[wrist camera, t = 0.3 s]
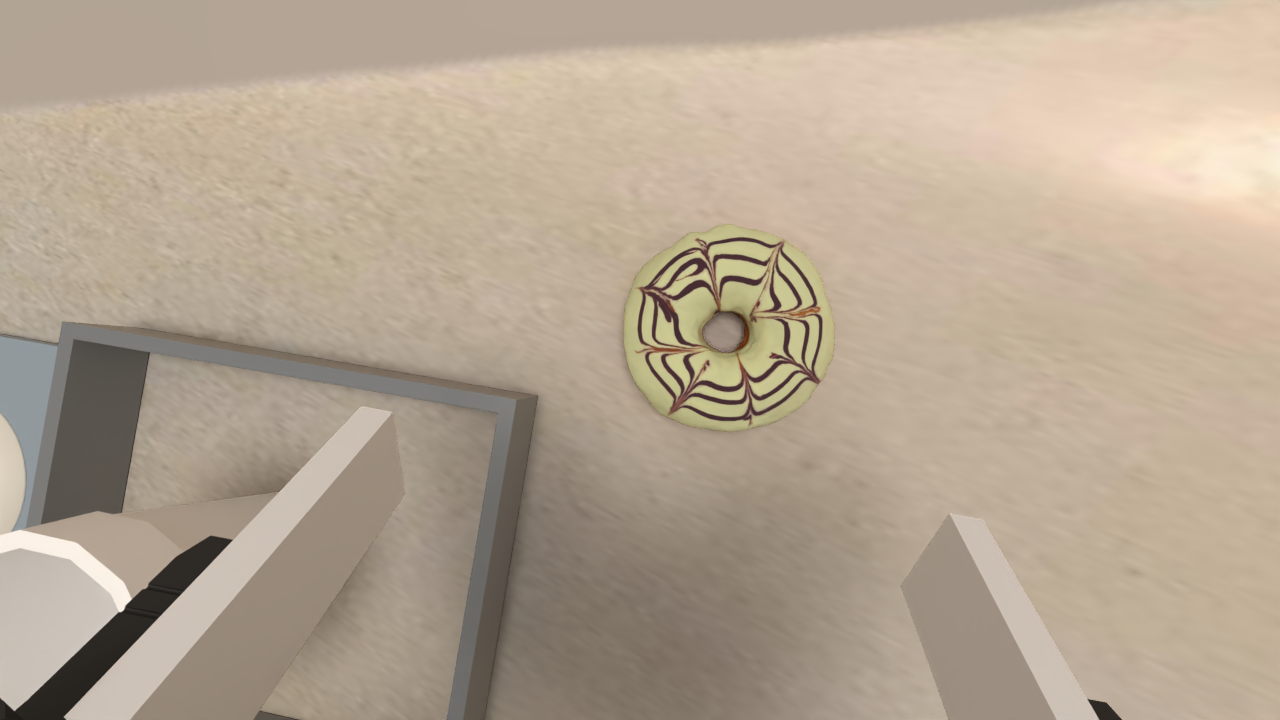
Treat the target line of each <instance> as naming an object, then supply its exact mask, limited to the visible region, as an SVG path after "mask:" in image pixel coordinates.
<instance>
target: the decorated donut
mask: <svg viewBox="0 0 1280 720" xmlns="http://www.w3.org/2000/svg"><path fill="white" fill-rule="evenodd" d="M717 311H719V312H720V311H727V312H734V313H735V314H737V315H739V317H741V318H742V320H743V321H744V322H745V328H746V329H745V336H744V341H743V343H740V346H739V348H738V347H737V349H736V350H735V351H733V352H731V353H723V352H720V351H719V350H717V349H714V348H712V347H711V346H710V345H708V344H707V343H706V342H705V340H704V337H703V333H702V329H703V327H704V325H705V324H706V323H707V322H709V321H710V320H711V319H712V318H713V316H714V313H716V312H717ZM623 338H624V340H623V344H624V348H625V353H626V358H627V363H628V367H629V370H630V372H631V375H632V377H633V379H634V381H635V383H636V384H637V386H638V387H639V389H640V390H641V391H642V392H643V393H644V395H645V396H646V398H647V399H648V400H649V402H650V403H651V404H652V405H653V407H654V408H655V409H656V410H657V412H659V413H660V414H662V415H663V416H666V417H668V418H671V419H673V420H676V421H678V422H680V423H682V424H685V425H687V426H691V427H696V428H706V429H710V430H722V431H726V432H732V431H742V430H747V429H751V428H754V427H758V426H763V425H767V424H770V423H773V422H776V421H778V420H780V419H782V418H783V417H785V416H787V415H788V414H790V413H792V412H794V411H796V410H797V409H798V408H800V407H801V406H802V405H803V404H804V403H805V402H806V401H807V400H808V399H809V398H810V397H811V394H812V392H813V391H814V390H815V389H816V387H817V385H818V384H819V383H820V382H821V381H822V379H823V378H824V376H825V374H826V371H827V369H828V366H829V364H830V362H831V361H832V359H833V352H834V340H835V324H834V320H833V316H832V312H831V308H830V304H829V302H828V299H827V296H826V293H825V289H824V285H823V281H822V279H821V277H820V274H819V272H818V271H817V269H816V268H815V266H814V265H813V263H812V262H811V260H810V259H809V258H808V257H807V255H806V254H804V253H803V252H802V251H800V250H799V249H798V248H796V247H795V246H793V245H791V244H790V243H789V242H788V241H786V240H784V239H782V238H779V237H777V236H775V235H773V234H769V233H765V232H762V231H759V230H751V229H745V228H741V227H738V226H736V225H733V224H725V225H719V226H716V227H714V228H712V229H711V230H709V231H708V232H706V233H698V232H691V233H689V234H687V235H686V236H684V237H683V238H682V239H681V240H680V241H678V242H677V243H676V244H675V245H674V246H673V247H671V248H668V249H666V250H664V251H663V252H662V253H659V254H657V255H656V256H654V257H653V258H652V259H651V260H650V261H649V262H648V263H647V264H645V265H644V266H643V268H642V269H641V271H640V272H639V273H638V275H637V276H636V278H635V280H634V283H633V286H632V288H631V291H630V295H629V297H628V300H627V303H626V305H625V317H624V327H623Z"/></svg>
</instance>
